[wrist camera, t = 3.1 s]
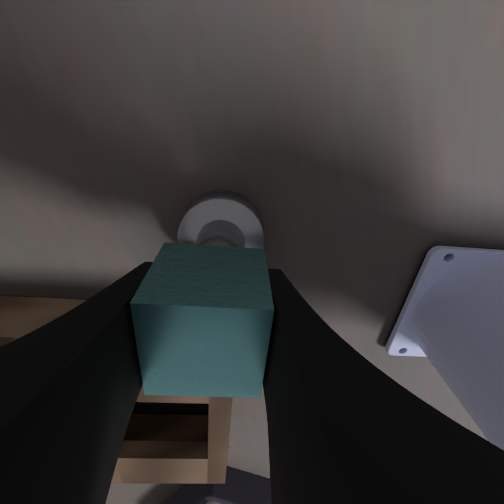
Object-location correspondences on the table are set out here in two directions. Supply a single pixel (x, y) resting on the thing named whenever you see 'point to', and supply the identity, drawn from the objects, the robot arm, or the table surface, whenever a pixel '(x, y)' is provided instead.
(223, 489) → the calculator
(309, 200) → the table surface
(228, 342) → the peg
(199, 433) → the keyhole plate
